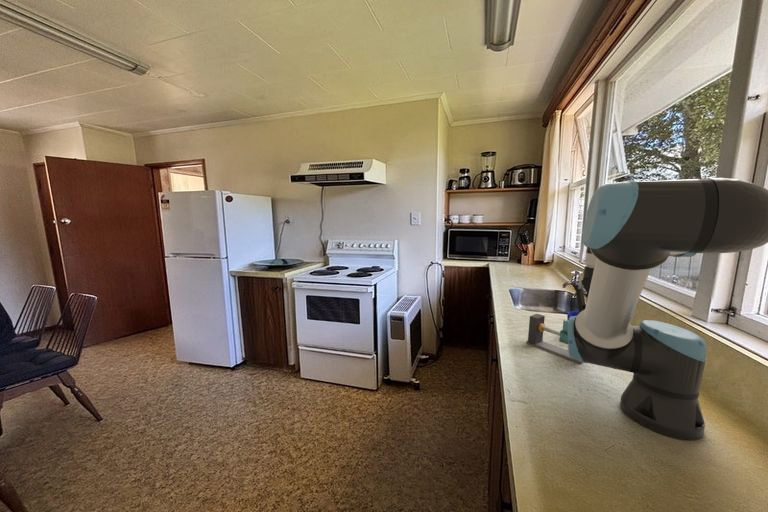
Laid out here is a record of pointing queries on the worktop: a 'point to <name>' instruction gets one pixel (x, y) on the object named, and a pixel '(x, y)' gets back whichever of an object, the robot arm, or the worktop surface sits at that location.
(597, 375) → the worktop surface
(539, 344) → the grey slider rail stand
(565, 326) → the sleeve
